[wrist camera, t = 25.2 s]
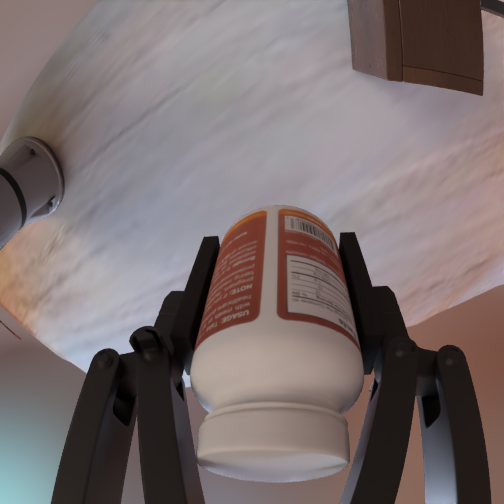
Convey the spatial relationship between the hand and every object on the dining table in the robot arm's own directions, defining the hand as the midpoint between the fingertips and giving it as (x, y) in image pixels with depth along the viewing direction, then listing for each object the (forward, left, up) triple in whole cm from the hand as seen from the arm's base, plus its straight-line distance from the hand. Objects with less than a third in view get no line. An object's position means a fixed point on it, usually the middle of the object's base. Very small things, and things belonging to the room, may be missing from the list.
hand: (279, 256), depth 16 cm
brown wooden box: (+9, +16, -17) cm, 25 cm away
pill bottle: (0, 0, -1) cm, 1 cm away
